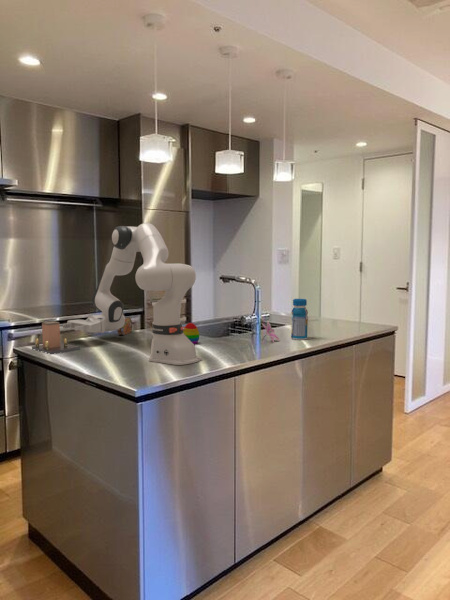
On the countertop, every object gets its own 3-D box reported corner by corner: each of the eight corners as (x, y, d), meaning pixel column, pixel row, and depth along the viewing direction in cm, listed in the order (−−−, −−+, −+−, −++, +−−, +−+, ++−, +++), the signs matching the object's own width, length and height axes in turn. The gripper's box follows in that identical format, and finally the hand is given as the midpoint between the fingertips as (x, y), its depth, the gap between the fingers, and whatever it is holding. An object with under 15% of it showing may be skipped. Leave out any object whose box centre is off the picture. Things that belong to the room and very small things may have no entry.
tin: (121, 336, 252) (121, 320, 251) (116, 336, 253) (115, 320, 252) (132, 331, 267) (132, 316, 266) (127, 331, 267) (127, 316, 266)
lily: (262, 346, 229) (272, 329, 227) (249, 333, 238) (258, 317, 236) (278, 350, 237) (288, 334, 235) (265, 338, 245) (274, 322, 243)
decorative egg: (179, 344, 230) (178, 323, 229) (188, 341, 237) (187, 321, 236) (193, 345, 226) (193, 324, 225) (202, 342, 233) (202, 322, 232)
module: (60, 346, 219) (59, 322, 218) (49, 348, 215) (48, 323, 214) (54, 344, 223) (53, 321, 221) (42, 346, 218) (41, 322, 217)
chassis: (79, 349, 218) (79, 339, 217) (50, 354, 207) (50, 343, 207) (60, 344, 229) (60, 334, 229) (32, 349, 219) (31, 338, 218)
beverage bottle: (296, 340, 238) (297, 300, 236) (287, 337, 245) (288, 298, 243) (311, 339, 241) (311, 299, 239) (301, 336, 249) (302, 298, 247)
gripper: (82, 315, 241) (57, 318, 231) (106, 319, 228) (80, 323, 218) (82, 328, 242) (57, 331, 232) (106, 332, 228) (80, 336, 218)
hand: (68, 327), depth 225 cm, fingers open, 8 cm apart
